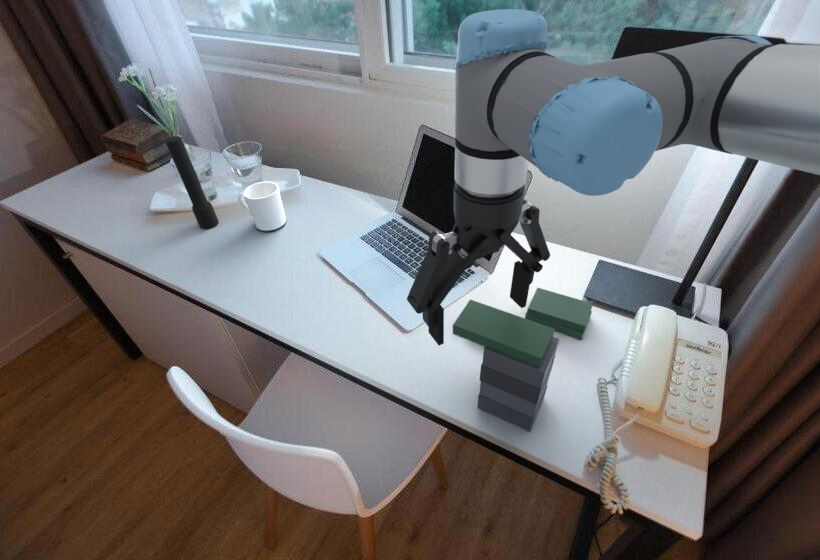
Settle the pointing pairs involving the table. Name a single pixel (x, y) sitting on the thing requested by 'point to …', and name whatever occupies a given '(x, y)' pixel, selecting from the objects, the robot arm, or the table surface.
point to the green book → (504, 332)
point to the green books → (559, 312)
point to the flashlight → (192, 184)
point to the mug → (264, 205)
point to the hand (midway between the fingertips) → (478, 319)
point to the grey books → (514, 386)
